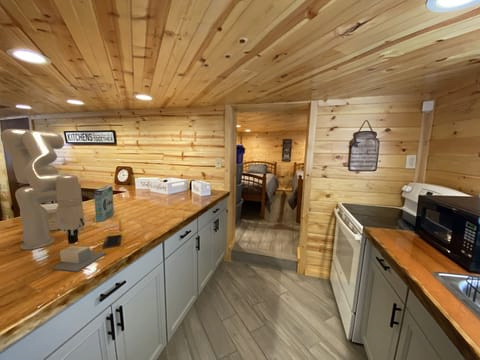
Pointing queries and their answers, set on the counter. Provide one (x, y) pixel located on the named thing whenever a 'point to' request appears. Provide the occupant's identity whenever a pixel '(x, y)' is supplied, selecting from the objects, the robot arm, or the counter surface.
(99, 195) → the teal rectangular box
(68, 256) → the block
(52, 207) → the storage basket
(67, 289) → the counter surface
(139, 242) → the counter surface
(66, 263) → the mat
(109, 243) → the phone
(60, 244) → the counter surface
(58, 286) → the counter surface
